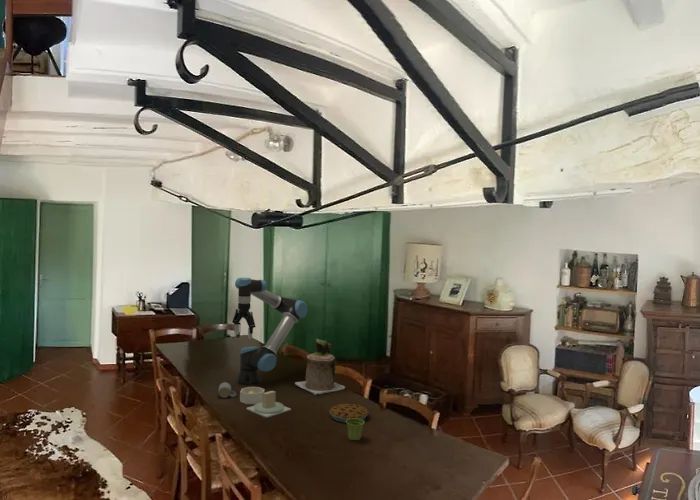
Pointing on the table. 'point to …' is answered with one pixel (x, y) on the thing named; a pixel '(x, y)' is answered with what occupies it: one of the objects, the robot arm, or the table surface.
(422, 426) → the table surface
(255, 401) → the bowl
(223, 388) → the ceramic mug
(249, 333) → the robot arm
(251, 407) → the mat
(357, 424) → the plant pot
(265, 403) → the lid
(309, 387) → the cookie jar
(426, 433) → the table surface
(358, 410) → the pie
